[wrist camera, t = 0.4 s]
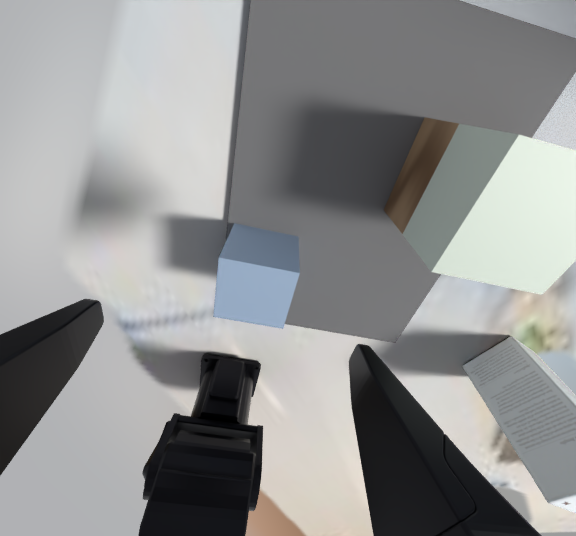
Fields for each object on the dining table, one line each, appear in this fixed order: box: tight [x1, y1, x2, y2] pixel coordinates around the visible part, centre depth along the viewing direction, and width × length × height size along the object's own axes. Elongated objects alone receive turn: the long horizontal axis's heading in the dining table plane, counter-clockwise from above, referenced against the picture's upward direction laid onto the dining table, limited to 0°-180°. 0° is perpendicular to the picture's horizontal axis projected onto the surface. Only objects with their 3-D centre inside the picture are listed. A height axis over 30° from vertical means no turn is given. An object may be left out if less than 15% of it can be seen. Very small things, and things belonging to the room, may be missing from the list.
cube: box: [213, 223, 300, 329], centre depth 20 cm, size 5×5×5 cm
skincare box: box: [463, 336, 576, 513], centre depth 24 cm, size 6×4×12 cm
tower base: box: [384, 117, 459, 234], centre depth 16 cm, size 6×6×4 cm
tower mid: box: [403, 124, 576, 295], centre depth 13 cm, size 6×6×4 cm
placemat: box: [226, 0, 576, 343], centre depth 20 cm, size 24×18×1 cm
